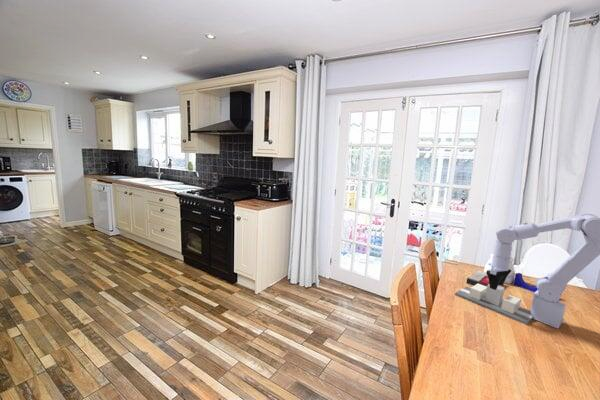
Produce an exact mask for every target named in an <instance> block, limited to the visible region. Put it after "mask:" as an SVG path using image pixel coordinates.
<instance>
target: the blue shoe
mask: <svg viewBox="0 0 600 400" xmlns="http://www.w3.org/2000/svg"><path fill="white" fill-rule="evenodd" d="M513 285H514V286H517V287H519V288H522V289H524V290H527V291H530V292H532V293H534V292H536V291H537V290H538V289H537V287H536V285H530V284H528V283H527V282H525V280H524V278H523V273H520V272H515V275H514V280H513Z"/></svg>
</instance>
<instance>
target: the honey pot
mask: <svg viewBox="0 0 600 400" xmlns="http://www.w3.org/2000/svg"><path fill="white" fill-rule="evenodd" d="M489 256H490V258H489V259H488V261H487V262H486V264H485V265H484V269H483V272H487V271H488V270H489V271H490V270H491V266H490V265H488V263H492V259H493V253H491V254H490V255H489ZM511 256H512V255H511ZM511 256H510V262H509V269H510V270H511V272H510V273H509V274H508V276H507V277H506V279H505V282H504V284H512V283H513V284H514V280H515V274H516V271H515V268H514V263H513V262H514V261H515V259H514V258H513V257H511Z"/></svg>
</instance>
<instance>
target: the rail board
mask: <svg viewBox="0 0 600 400" xmlns="http://www.w3.org/2000/svg"><path fill="white" fill-rule="evenodd" d="M470 288H471V287H469V286H465V287H463V288H460V289H459V290H458V291H456V292H455V293H454V295H455V296H456V297H458V298H462V299H464V300H465V301H466V300H467V301H468V302H471V303H473V304H475V305H478V306H481V307H483V308H485V309H488V310H490V311H492V312H494V313H497V314H499V315H502V316H504V317H507V318H509V319H512V320H514V321H516V322H519V323H521V324H523V325H526V326H527V325H528V324H530V322H531V321H532V320H533V319H532V318H533V315H532V314H531V313H530V311H531V309H527V308H524V307H522V306H520V308H519V309H518V310H517V311H516V312H515V313H514V314H512V313H510V312H507V311H505V310H502V309H501V307H502V303H501V304H500V305H499V306H497V305H494V304H492V303H489V302H487V301H485V297H483V298H482V299H480V300H477V299H475V298H472V297H470V296H469V294H470ZM503 300H504V299H503ZM503 300H502V302H503Z"/></svg>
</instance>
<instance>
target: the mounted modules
mask: <svg viewBox="0 0 600 400" xmlns="http://www.w3.org/2000/svg"><path fill="white" fill-rule="evenodd" d="M486 289H487V287H486V286H484V285H481V284H476V285H474V286H473V285H472V286H471V287H470V294H469V296H470V297H472V298H475V299H477V300H480V299H482V298H483V297H485V295H486ZM521 301H522V298H519V297H517V296H514V295H511V294H509V295H507V296H506V297H505V298H503V302H502V307H501V309H502V310H505V311H507V312H510V313H512V314H514V313H515V312H516V311H517V310H518V309H519V308H520V307H521Z"/></svg>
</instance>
